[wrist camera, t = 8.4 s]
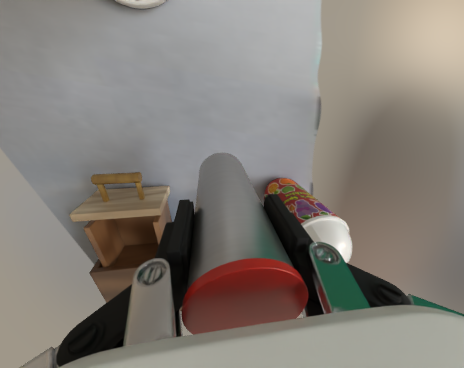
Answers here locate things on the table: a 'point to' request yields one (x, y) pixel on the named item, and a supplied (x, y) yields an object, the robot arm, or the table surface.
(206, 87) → the table surface
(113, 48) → the table surface
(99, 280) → the cabinet
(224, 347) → the robot arm
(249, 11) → the table surface
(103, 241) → the drawer
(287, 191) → the smoothie
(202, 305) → the spice tin
